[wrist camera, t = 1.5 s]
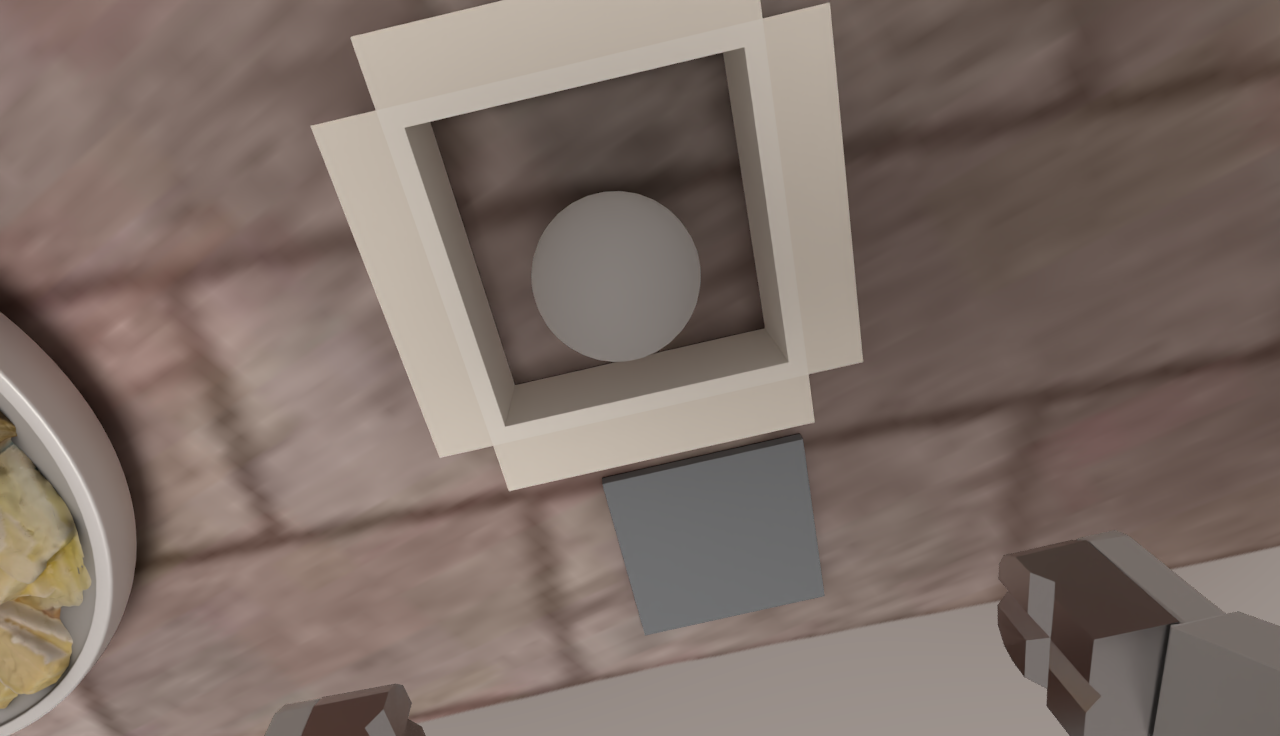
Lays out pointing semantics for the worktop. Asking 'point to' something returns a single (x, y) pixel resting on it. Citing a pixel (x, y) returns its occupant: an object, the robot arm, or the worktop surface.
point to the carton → (449, 279)
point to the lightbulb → (616, 276)
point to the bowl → (55, 534)
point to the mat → (717, 534)
